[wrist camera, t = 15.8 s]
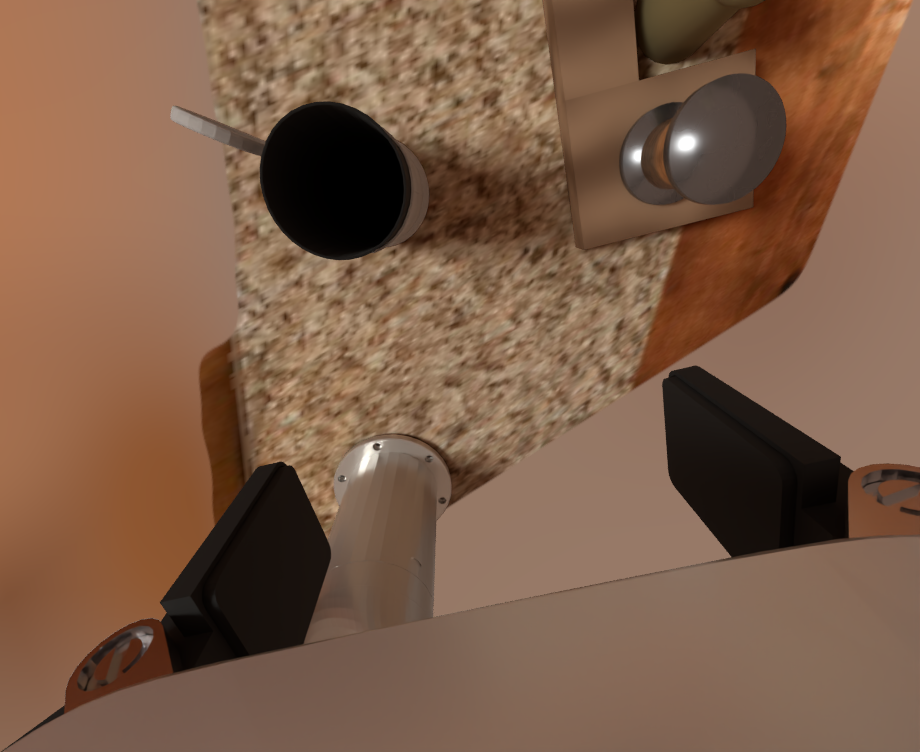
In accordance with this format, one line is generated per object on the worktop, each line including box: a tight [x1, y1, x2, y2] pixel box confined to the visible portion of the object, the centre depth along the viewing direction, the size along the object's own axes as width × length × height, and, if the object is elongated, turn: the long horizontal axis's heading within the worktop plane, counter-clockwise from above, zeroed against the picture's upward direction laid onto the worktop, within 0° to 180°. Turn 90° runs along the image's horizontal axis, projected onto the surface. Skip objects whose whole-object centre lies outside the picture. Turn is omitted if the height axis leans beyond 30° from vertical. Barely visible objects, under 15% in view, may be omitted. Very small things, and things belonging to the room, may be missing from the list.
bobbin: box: [619, 73, 786, 205], centre depth 29 cm, size 7×7×8 cm
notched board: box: [543, 0, 756, 250], centre depth 32 cm, size 22×14×2 cm, turn 14°
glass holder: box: [171, 102, 429, 260], centre depth 29 cm, size 9×14×15 cm, turn 67°
